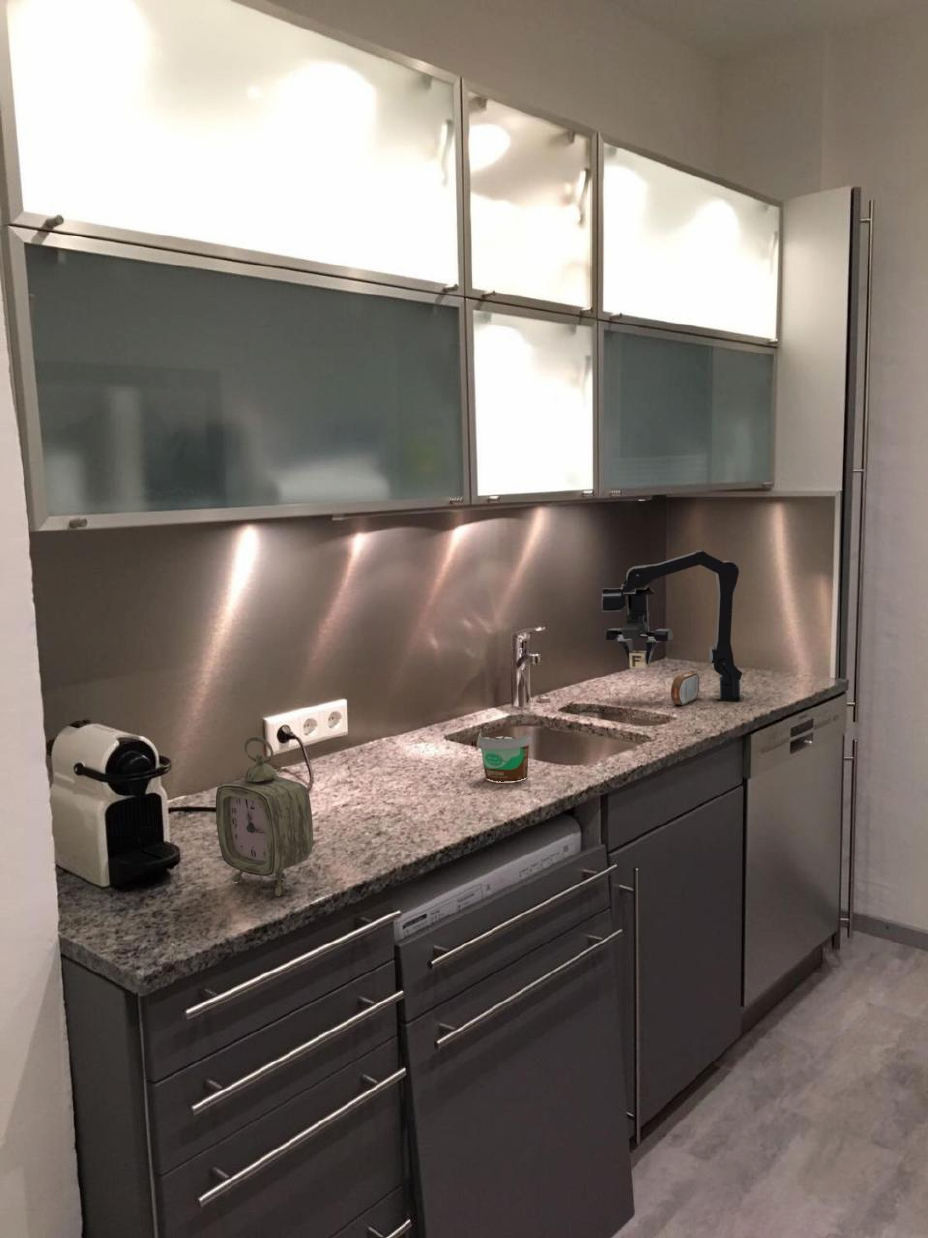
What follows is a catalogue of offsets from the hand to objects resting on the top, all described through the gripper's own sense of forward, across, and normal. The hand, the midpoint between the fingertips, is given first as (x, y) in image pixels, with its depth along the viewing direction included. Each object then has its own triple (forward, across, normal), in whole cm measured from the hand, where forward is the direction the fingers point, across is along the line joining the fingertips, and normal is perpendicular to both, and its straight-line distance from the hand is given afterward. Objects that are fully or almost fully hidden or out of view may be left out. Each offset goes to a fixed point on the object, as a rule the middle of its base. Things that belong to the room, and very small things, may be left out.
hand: (639, 664), depth 293 cm
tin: (+11, +13, +2) cm, 17 cm away
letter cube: (+1, 0, 0) cm, 1 cm away
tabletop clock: (+12, -14, -152) cm, 154 cm away
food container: (+12, -3, -86) cm, 87 cm away
